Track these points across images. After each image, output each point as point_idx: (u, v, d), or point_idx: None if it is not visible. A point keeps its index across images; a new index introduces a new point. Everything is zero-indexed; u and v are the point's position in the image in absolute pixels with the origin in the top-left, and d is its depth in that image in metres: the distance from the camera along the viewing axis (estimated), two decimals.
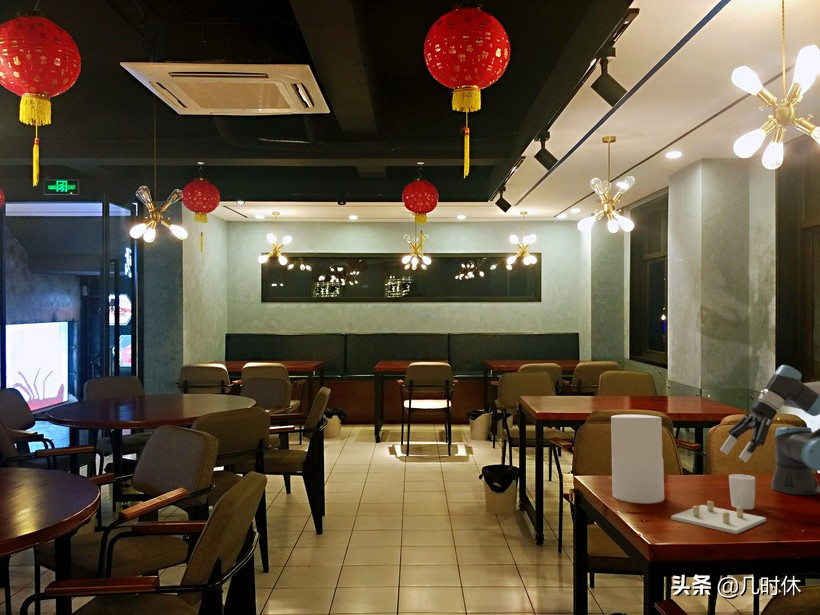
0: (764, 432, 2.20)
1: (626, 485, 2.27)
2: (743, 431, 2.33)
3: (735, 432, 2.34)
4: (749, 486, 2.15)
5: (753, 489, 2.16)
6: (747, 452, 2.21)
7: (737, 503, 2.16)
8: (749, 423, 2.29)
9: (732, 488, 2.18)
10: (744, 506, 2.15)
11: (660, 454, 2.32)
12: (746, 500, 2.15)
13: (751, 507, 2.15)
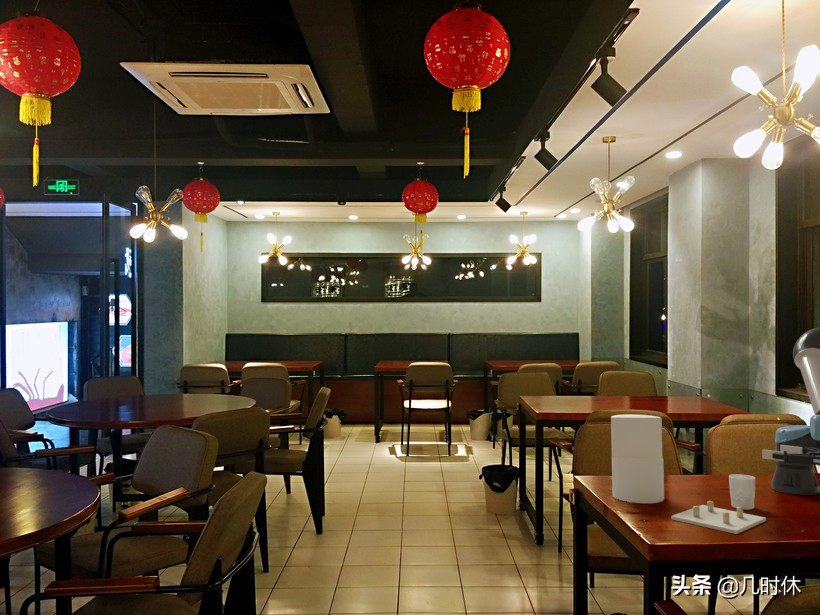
0: None
1: (626, 485, 2.27)
2: None
3: None
4: (749, 486, 2.15)
5: (753, 489, 2.16)
6: None
7: (737, 503, 2.16)
8: None
9: (732, 488, 2.18)
10: (744, 506, 2.15)
11: (660, 454, 2.32)
12: (746, 500, 2.15)
13: (751, 507, 2.15)
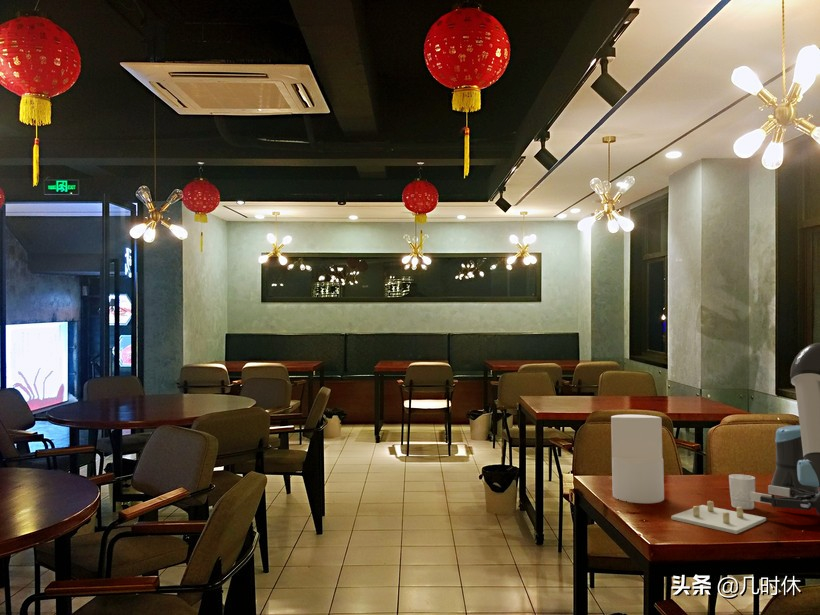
0: None
1: (626, 485, 2.27)
2: None
3: None
4: (749, 486, 2.15)
5: (753, 489, 2.16)
6: None
7: (737, 503, 2.16)
8: None
9: (732, 488, 2.18)
10: (744, 506, 2.15)
11: (660, 454, 2.32)
12: (746, 500, 2.15)
13: (751, 507, 2.15)
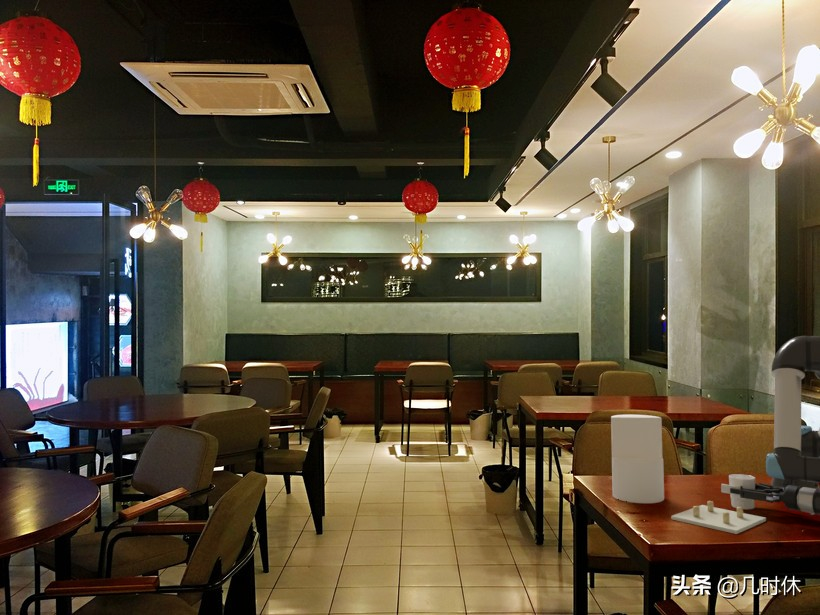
0: None
1: (626, 485, 2.27)
2: None
3: None
4: (749, 486, 2.15)
5: None
6: None
7: (737, 503, 2.16)
8: None
9: None
10: (744, 506, 2.15)
11: (660, 454, 2.32)
12: (746, 500, 2.15)
13: (751, 507, 2.15)
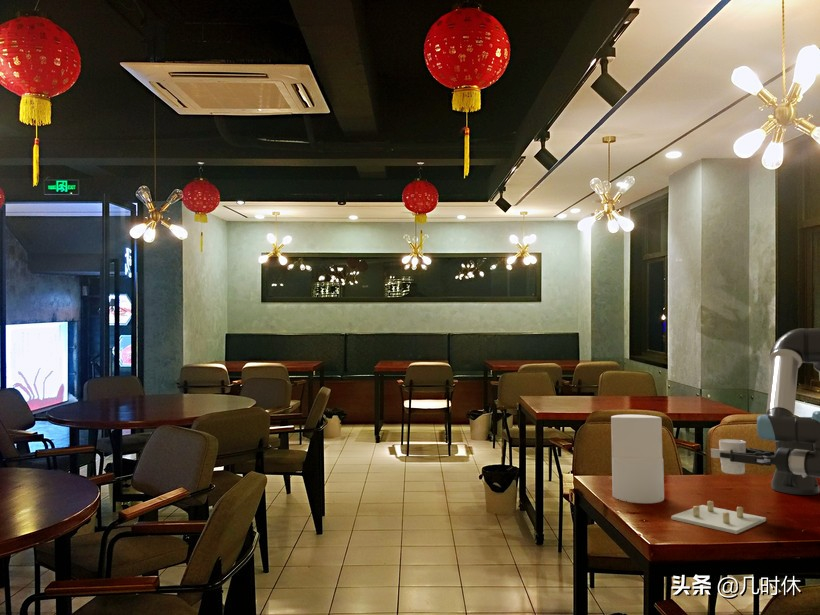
0: None
1: (626, 485, 2.27)
2: None
3: None
4: (740, 450, 2.08)
5: None
6: None
7: (727, 468, 2.10)
8: None
9: None
10: (734, 471, 2.09)
11: (660, 454, 2.32)
12: (736, 464, 2.08)
13: (742, 472, 2.09)
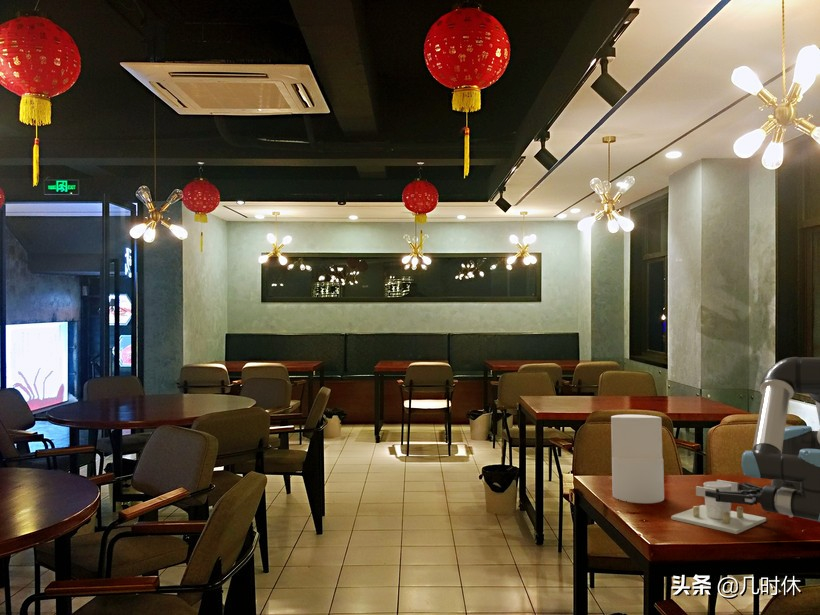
0: None
1: (626, 485, 2.27)
2: None
3: None
4: None
5: None
6: None
7: (712, 513, 2.02)
8: None
9: None
10: (719, 516, 2.00)
11: (660, 454, 2.32)
12: (721, 509, 2.00)
13: None
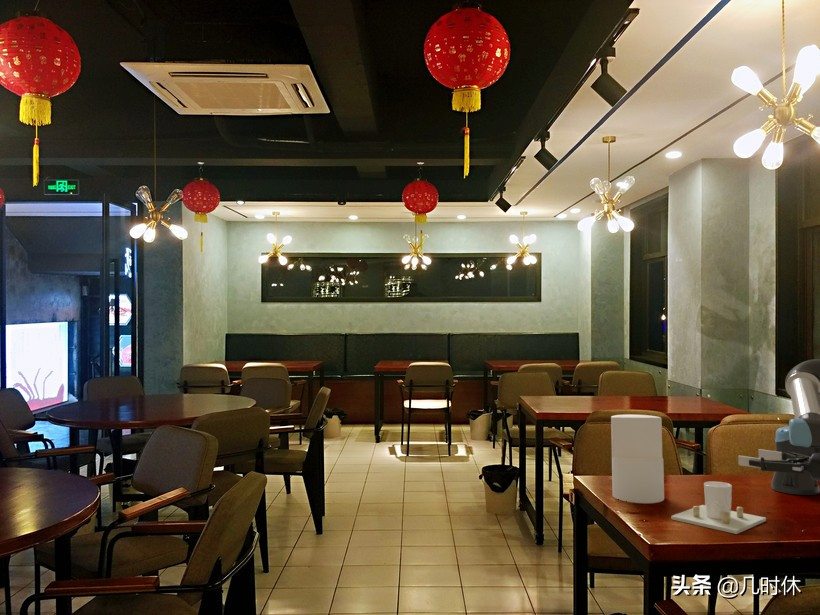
0: None
1: (626, 485, 2.27)
2: None
3: None
4: (725, 494, 2.00)
5: (729, 498, 2.01)
6: None
7: (712, 513, 2.02)
8: None
9: (707, 496, 2.03)
10: (719, 516, 2.00)
11: (660, 454, 2.32)
12: (722, 509, 2.00)
13: None
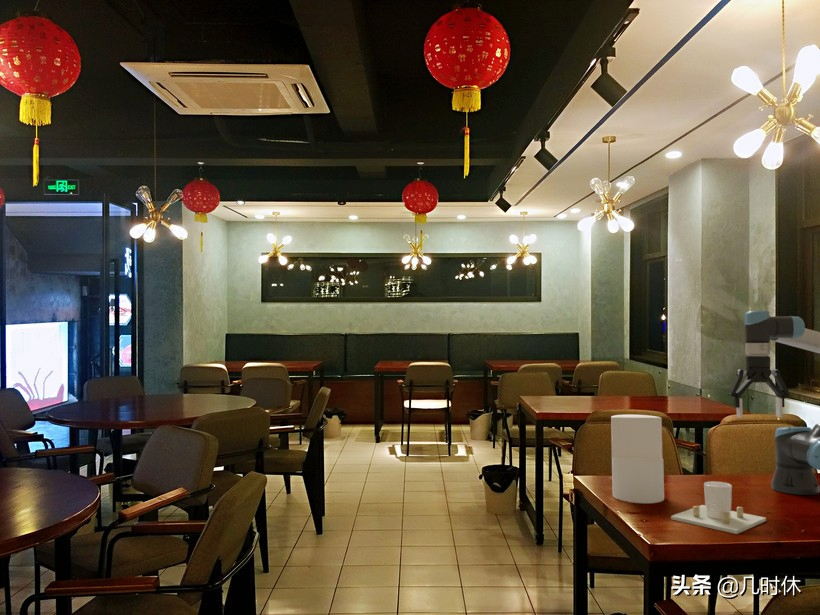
0: None
1: (626, 485, 2.27)
2: None
3: None
4: (725, 494, 2.00)
5: (729, 498, 2.01)
6: None
7: (712, 513, 2.02)
8: (757, 380, 2.26)
9: (707, 496, 2.03)
10: (719, 516, 2.00)
11: (660, 454, 2.32)
12: (722, 509, 2.00)
13: None
